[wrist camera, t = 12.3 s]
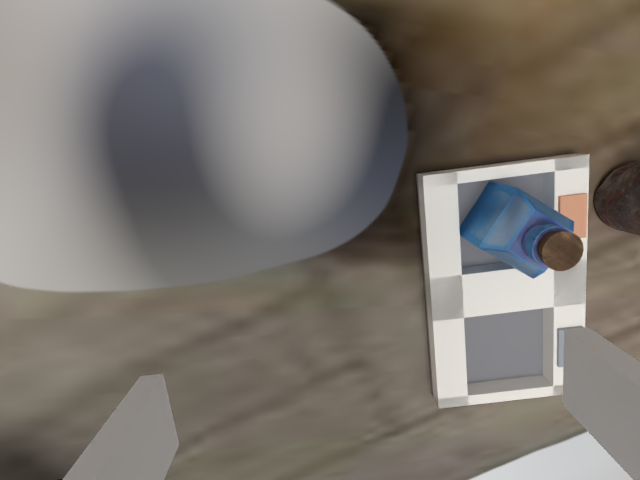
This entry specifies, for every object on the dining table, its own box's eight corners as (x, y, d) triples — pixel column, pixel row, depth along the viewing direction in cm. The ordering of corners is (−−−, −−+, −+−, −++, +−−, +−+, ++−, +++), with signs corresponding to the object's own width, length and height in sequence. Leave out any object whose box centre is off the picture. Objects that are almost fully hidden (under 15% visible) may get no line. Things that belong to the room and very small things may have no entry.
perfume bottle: (538, 209, 43) (620, 236, 31) (504, 259, 44) (570, 303, 32) (489, 181, 42) (554, 196, 30) (455, 232, 43) (506, 266, 32)
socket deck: (568, 377, 48) (585, 394, 45) (431, 393, 49) (439, 410, 46) (572, 153, 42) (592, 154, 39) (416, 173, 43) (423, 176, 39)
